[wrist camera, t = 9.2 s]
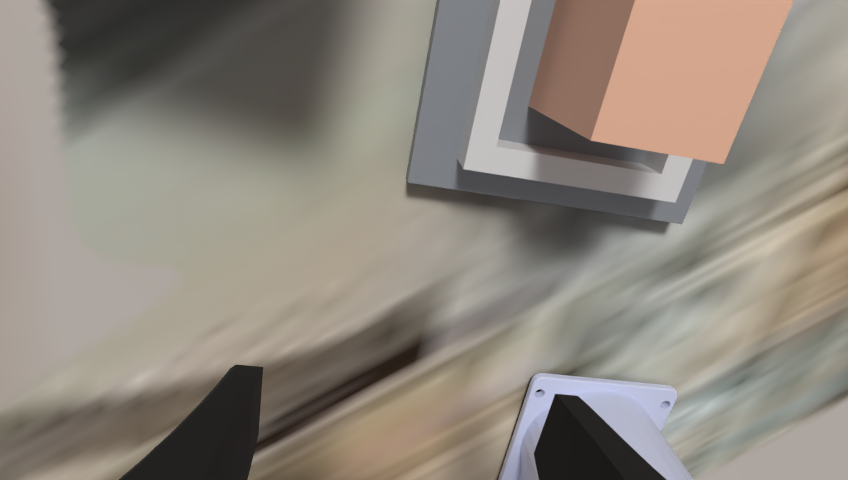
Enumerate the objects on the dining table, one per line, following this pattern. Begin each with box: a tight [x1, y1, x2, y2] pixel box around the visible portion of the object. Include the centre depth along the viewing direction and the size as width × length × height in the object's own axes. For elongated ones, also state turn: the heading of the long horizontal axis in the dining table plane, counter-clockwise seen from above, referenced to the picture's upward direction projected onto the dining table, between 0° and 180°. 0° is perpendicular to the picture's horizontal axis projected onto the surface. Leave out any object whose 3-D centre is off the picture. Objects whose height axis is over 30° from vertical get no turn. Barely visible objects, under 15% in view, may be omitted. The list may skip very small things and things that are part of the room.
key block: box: [528, 0, 794, 164], centre depth 15 cm, size 4×7×6 cm, turn 169°
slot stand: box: [406, 0, 708, 224], centre depth 17 cm, size 14×12×2 cm
